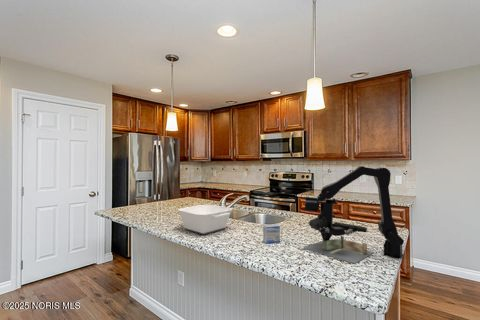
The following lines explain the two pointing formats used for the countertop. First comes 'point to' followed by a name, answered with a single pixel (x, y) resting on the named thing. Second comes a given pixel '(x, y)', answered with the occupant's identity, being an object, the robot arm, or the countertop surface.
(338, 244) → the folding panel
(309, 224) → the robot arm
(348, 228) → the door handle
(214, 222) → the tub
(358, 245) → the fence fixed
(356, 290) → the countertop surface
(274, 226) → the medicine box
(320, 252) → the card
